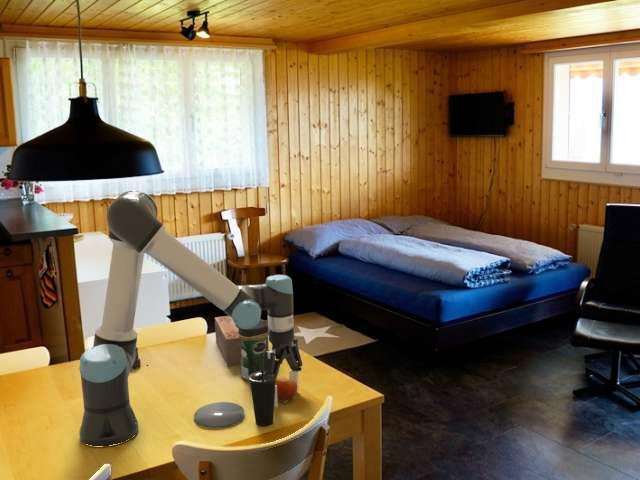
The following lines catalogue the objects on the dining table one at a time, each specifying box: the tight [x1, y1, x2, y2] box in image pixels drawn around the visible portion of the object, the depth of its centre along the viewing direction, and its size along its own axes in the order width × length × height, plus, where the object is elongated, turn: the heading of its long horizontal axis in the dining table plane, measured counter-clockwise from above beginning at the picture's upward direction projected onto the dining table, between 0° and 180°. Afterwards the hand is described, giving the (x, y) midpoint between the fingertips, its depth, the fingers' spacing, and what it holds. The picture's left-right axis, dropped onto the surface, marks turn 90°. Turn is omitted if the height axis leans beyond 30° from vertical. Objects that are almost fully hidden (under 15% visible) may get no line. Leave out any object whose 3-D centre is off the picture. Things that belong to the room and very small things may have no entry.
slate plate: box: [193, 401, 245, 429], centre depth 189 cm, size 14×14×1 cm
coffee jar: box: [238, 318, 269, 381], centre depth 216 cm, size 10×8×19 cm
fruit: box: [275, 376, 297, 406], centre depth 199 cm, size 8×8×8 cm
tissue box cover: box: [214, 315, 270, 368], centre depth 240 cm, size 26×14×10 cm, turn 17°
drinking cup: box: [248, 354, 278, 428], centre depth 183 cm, size 8×8×20 cm
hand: (283, 398), depth 200 cm, fingers open, 11 cm apart
